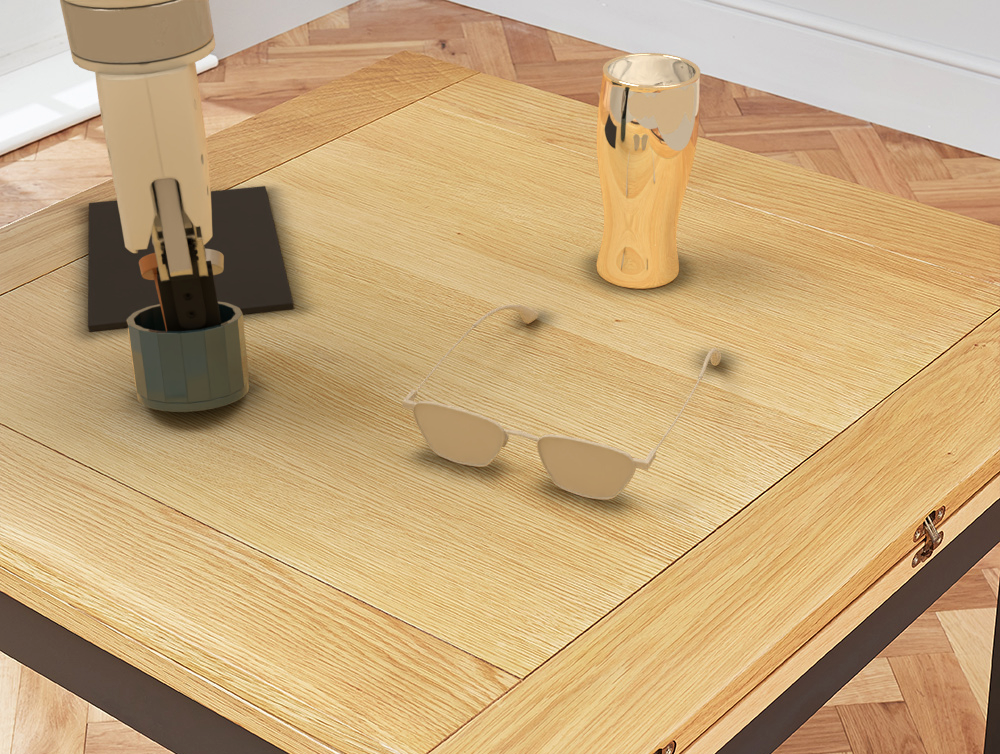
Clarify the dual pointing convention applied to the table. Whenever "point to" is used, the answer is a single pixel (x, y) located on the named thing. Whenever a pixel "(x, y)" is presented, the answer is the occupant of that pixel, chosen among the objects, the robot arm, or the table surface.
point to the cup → (188, 361)
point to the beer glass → (645, 164)
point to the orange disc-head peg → (151, 273)
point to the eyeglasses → (562, 456)
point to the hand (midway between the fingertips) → (194, 328)
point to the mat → (235, 233)
